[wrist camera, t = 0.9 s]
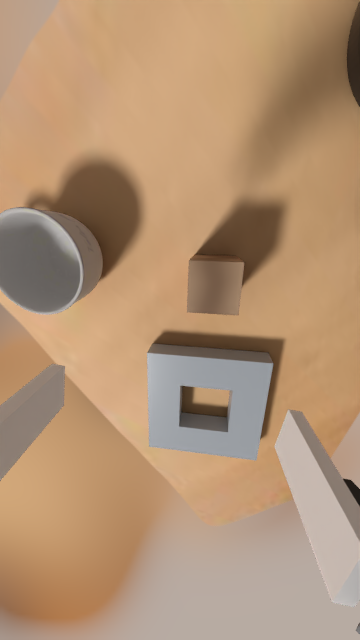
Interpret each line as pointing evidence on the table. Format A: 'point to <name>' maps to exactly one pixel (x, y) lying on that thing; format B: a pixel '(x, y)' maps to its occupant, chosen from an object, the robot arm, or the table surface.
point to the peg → (214, 284)
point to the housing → (216, 373)
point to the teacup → (46, 259)
